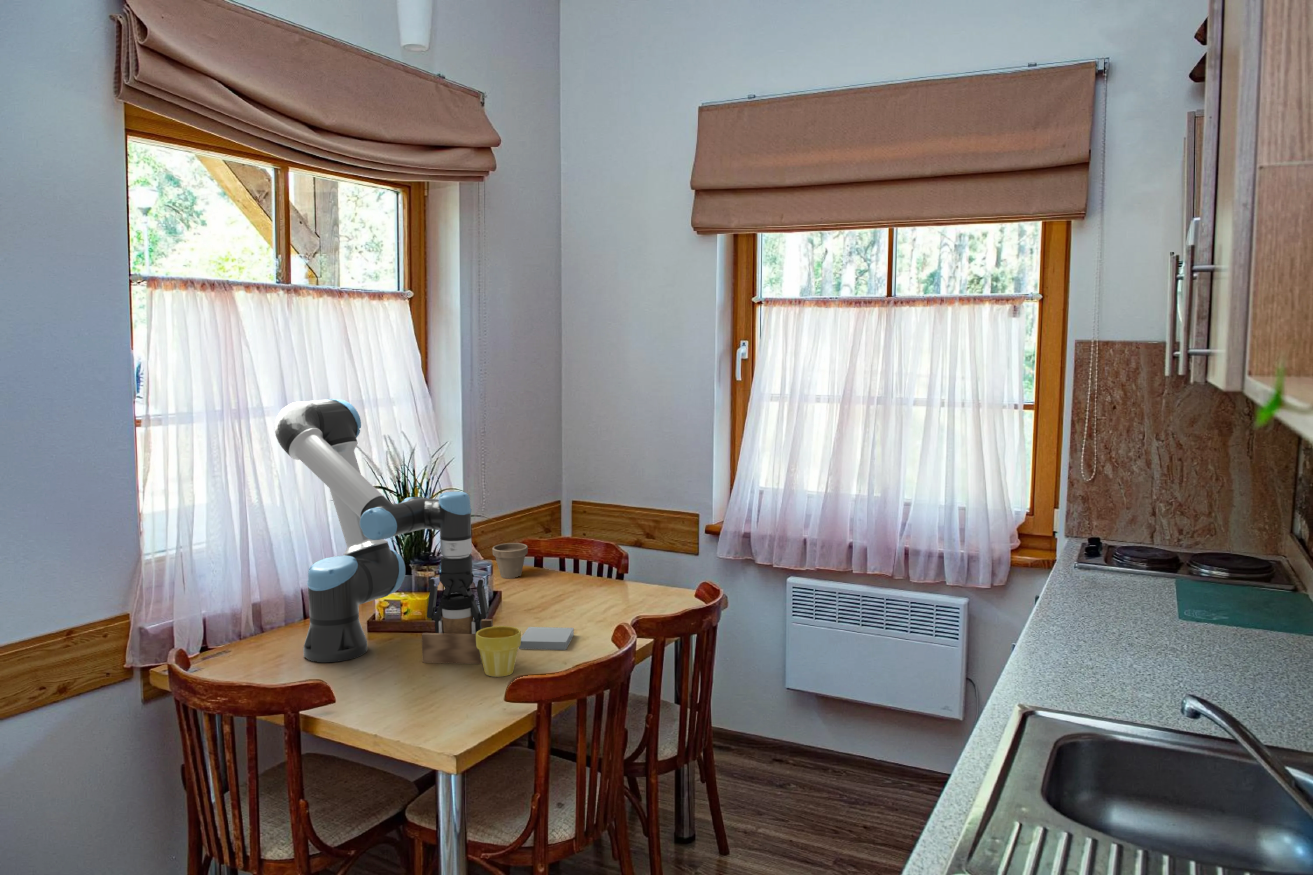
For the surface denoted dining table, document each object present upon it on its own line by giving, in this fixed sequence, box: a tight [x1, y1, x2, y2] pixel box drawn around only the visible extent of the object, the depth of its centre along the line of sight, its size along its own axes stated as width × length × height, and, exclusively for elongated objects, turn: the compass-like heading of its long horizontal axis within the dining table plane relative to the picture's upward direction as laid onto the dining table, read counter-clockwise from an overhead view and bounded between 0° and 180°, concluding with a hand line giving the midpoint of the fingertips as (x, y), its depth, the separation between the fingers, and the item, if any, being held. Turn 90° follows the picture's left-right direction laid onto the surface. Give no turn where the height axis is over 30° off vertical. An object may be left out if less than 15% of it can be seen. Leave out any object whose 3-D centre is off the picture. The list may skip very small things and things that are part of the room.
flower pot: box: [492, 542, 529, 579], centre depth 314 cm, size 12×11×10 cm
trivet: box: [518, 626, 575, 651], centre depth 246 cm, size 12×12×2 cm
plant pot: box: [476, 625, 522, 678], centre depth 223 cm, size 10×10×10 cm
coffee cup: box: [439, 593, 475, 634], centre depth 236 cm, size 8×8×15 cm
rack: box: [421, 617, 494, 665], centre depth 237 cm, size 14×13×7 cm
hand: (458, 645), depth 237 cm, fingers closed on coffee cup, 8 cm apart
